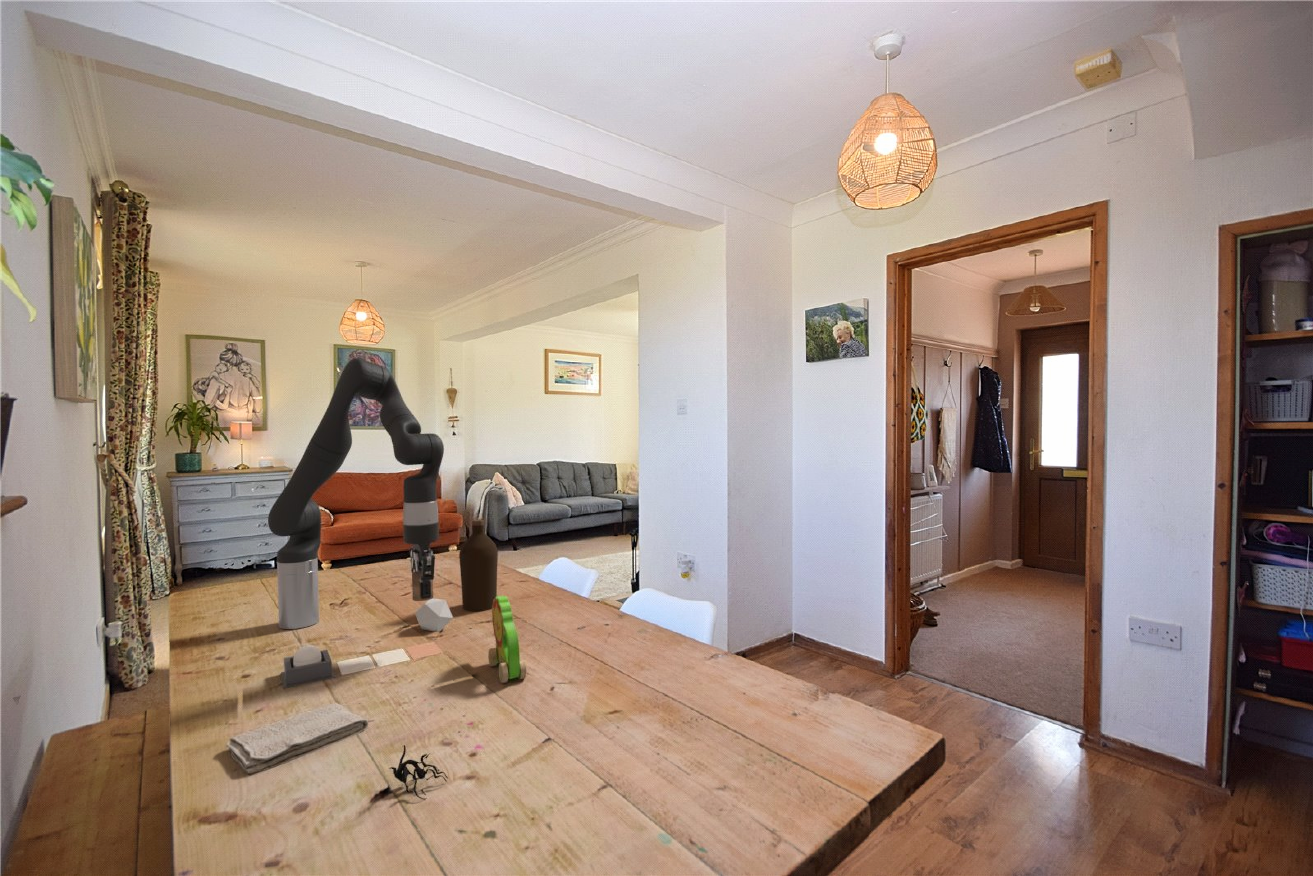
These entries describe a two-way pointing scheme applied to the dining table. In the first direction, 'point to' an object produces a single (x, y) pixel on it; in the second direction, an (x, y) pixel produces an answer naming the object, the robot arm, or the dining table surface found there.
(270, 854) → the dining table surface
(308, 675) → the button base
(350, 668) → the game board
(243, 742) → the washcloth
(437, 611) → the die
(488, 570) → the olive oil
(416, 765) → the creature
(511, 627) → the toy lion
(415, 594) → the brown cylinder
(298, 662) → the dome
